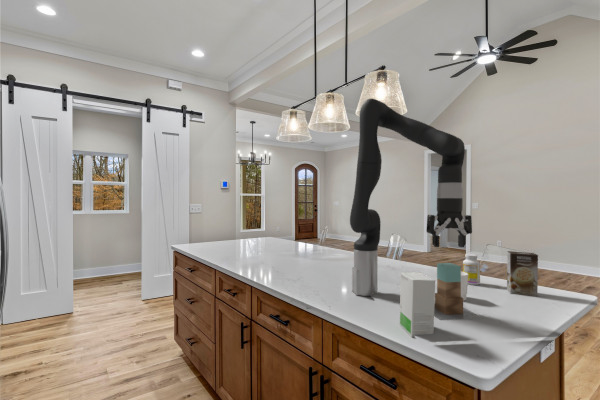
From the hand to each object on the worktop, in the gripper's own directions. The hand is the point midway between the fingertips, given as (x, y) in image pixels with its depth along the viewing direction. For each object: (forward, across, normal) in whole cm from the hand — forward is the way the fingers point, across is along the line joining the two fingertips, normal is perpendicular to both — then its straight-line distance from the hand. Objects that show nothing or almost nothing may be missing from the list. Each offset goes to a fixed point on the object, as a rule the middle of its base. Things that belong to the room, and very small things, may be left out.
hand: (448, 246), depth 98 cm
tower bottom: (+21, 0, 0) cm, 21 cm away
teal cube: (+11, 0, 0) cm, 11 cm away
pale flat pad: (+22, 0, 0) cm, 22 cm away
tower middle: (+16, 0, 0) cm, 16 cm away
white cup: (+22, +11, +13) cm, 28 cm away
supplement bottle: (+22, +32, +34) cm, 51 cm away
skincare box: (+22, -17, -12) cm, 30 cm away
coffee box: (+22, +43, +19) cm, 52 cm away
